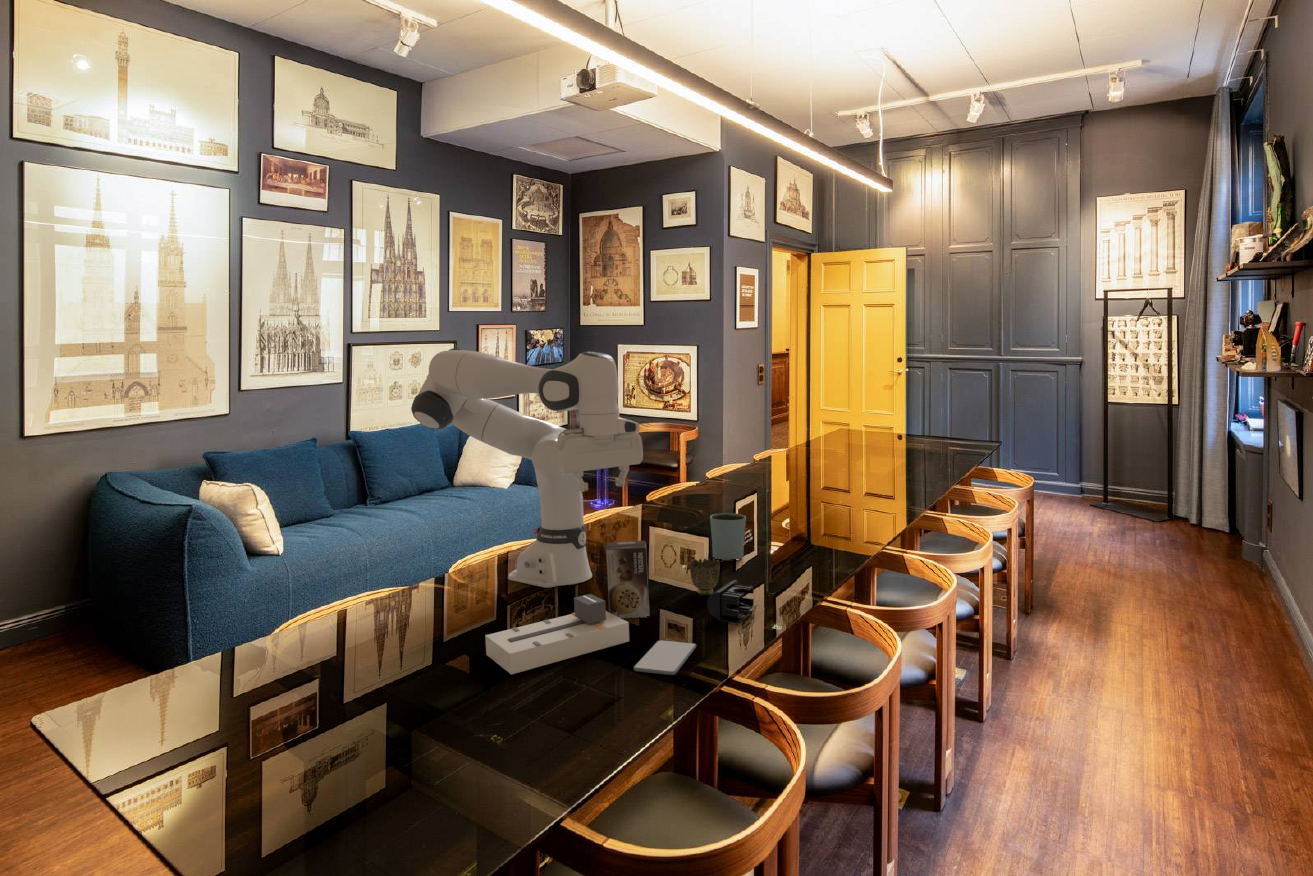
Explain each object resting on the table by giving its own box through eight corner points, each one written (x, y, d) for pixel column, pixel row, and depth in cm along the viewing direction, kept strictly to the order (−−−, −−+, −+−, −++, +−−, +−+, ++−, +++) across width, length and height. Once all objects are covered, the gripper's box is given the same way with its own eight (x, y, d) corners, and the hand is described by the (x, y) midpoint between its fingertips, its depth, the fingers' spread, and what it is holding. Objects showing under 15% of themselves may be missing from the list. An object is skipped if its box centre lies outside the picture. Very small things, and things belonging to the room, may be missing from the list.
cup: (718, 599, 180) (717, 566, 179) (688, 598, 182) (687, 565, 181) (722, 589, 187) (721, 558, 186) (692, 589, 189) (691, 557, 188)
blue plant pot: (705, 555, 220) (704, 514, 219) (738, 551, 223) (737, 511, 222) (719, 564, 210) (718, 521, 209) (752, 560, 213) (751, 518, 212)
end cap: (725, 607, 175) (725, 578, 174) (754, 611, 172) (754, 582, 171) (707, 620, 166) (706, 590, 166) (737, 625, 163) (736, 595, 162)
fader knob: (589, 624, 153) (588, 604, 153) (574, 616, 158) (573, 597, 158) (606, 619, 156) (605, 600, 155) (591, 612, 161) (590, 593, 160)
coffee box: (648, 608, 176) (646, 540, 174) (649, 618, 169) (647, 547, 167) (609, 610, 175) (606, 541, 173) (608, 619, 169) (605, 548, 167)
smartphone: (697, 643, 152) (674, 672, 138) (697, 648, 152) (674, 677, 138) (658, 639, 155) (631, 667, 141) (658, 644, 155) (632, 672, 141)
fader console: (511, 674, 141) (510, 652, 141) (486, 654, 151) (485, 634, 150) (629, 641, 156) (628, 621, 155) (599, 625, 166) (598, 606, 165)
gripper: (564, 431, 158) (567, 496, 160) (645, 423, 170) (647, 484, 171) (550, 429, 163) (553, 492, 165) (630, 421, 175) (632, 481, 176)
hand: (602, 488), depth 168 cm, fingers open, 8 cm apart
